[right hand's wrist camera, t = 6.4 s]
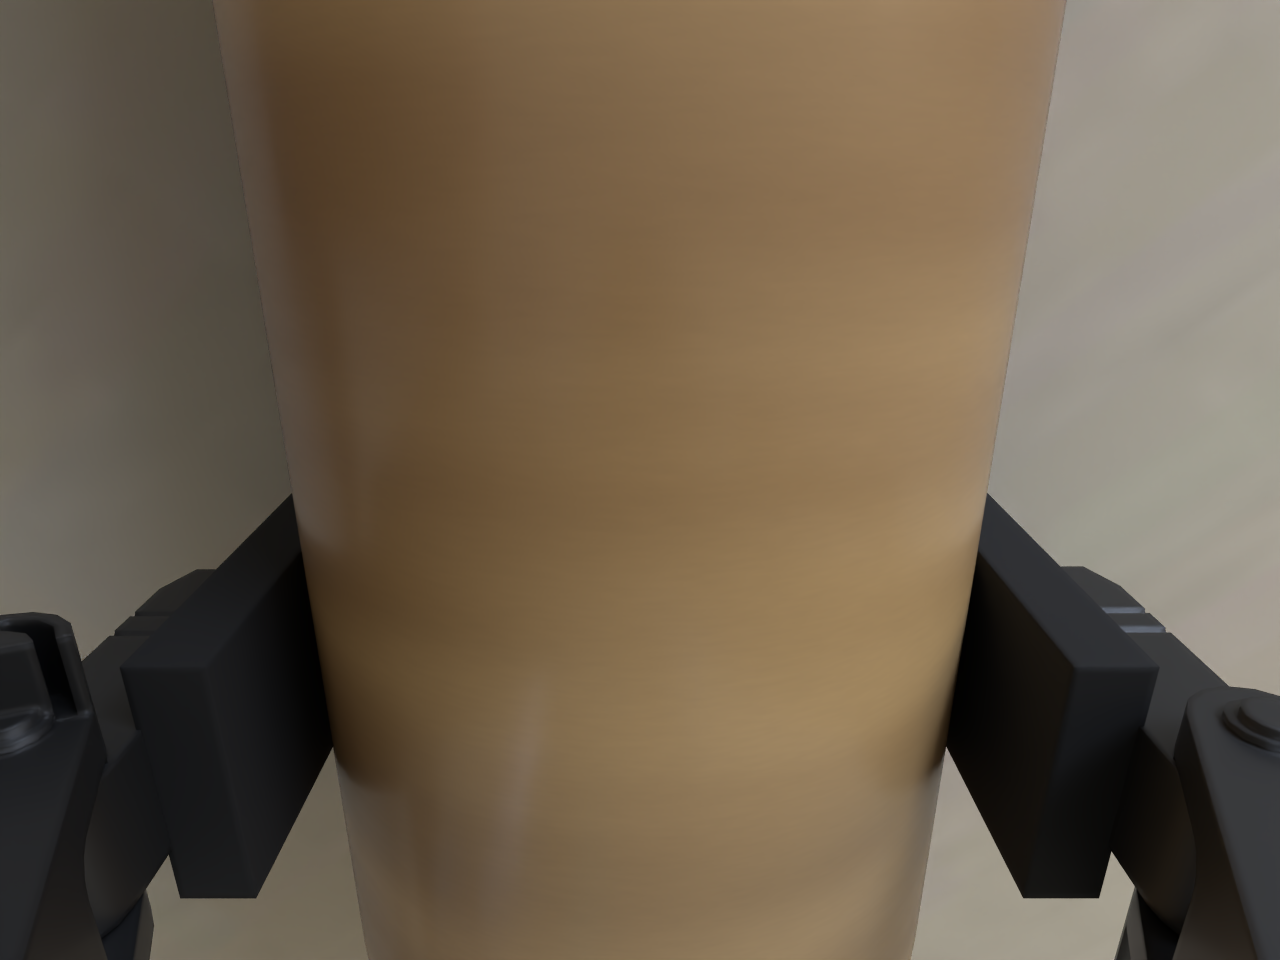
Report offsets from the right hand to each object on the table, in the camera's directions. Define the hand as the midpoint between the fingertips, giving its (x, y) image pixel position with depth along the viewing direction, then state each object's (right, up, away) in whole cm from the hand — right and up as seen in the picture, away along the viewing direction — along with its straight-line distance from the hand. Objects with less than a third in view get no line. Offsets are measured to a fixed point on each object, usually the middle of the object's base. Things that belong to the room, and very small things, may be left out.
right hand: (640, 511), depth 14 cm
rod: (0, +7, -2) cm, 7 cm away
